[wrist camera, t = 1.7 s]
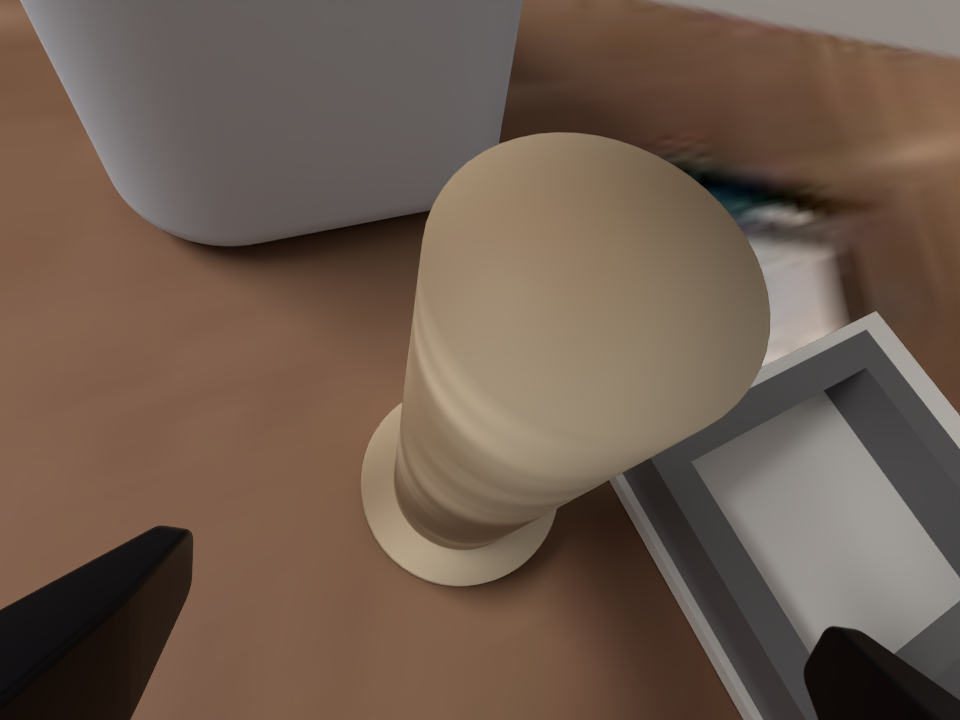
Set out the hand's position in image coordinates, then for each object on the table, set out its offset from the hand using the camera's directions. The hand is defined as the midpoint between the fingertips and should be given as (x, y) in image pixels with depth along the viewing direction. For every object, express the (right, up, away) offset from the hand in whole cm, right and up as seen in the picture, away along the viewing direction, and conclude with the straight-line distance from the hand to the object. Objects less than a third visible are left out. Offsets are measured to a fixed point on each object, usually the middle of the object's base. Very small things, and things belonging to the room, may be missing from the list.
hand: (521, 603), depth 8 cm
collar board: (+14, -5, +12) cm, 19 cm away
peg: (-1, -1, +11) cm, 11 cm away
